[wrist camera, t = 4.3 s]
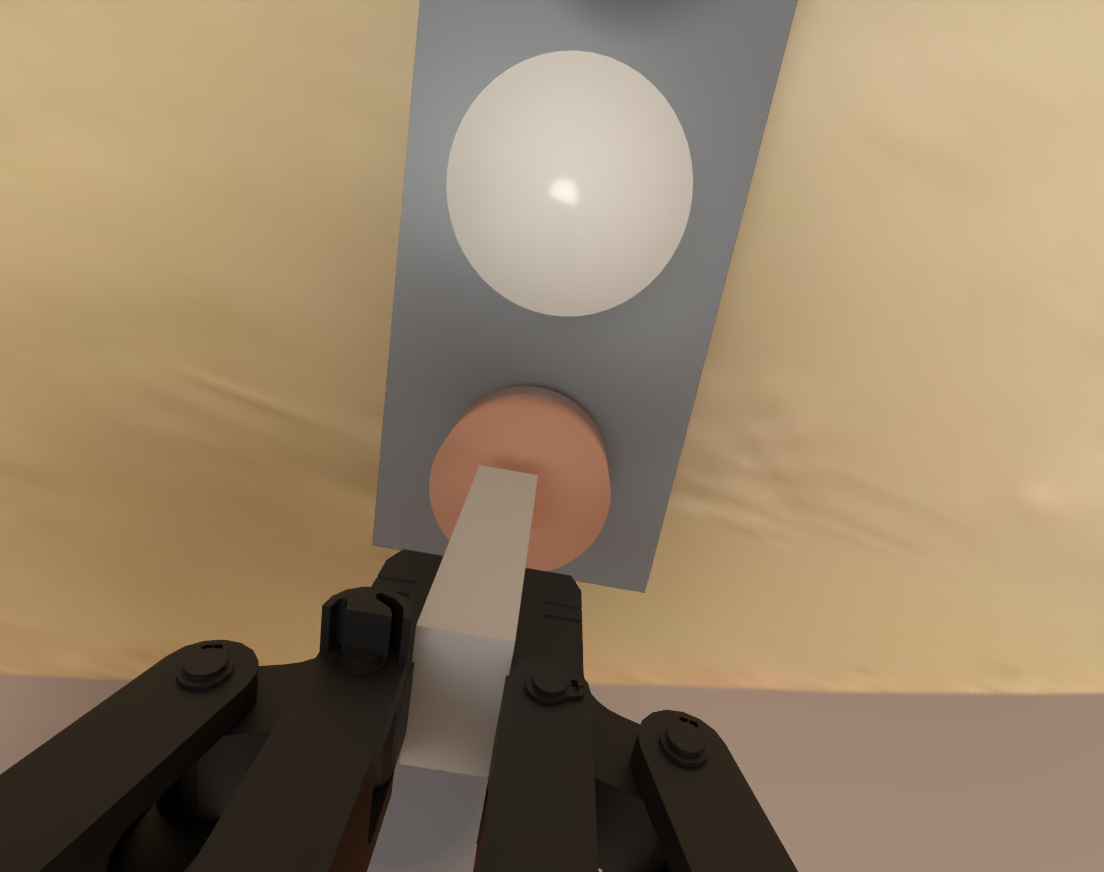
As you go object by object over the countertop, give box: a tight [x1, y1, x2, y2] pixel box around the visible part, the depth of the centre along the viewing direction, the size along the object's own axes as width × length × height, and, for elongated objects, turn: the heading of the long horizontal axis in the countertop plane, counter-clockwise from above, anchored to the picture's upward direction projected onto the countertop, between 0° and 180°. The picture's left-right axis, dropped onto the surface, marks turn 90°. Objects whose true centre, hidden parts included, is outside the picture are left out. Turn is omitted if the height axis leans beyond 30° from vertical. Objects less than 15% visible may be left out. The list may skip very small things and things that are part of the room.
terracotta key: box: [429, 386, 611, 571], centre depth 21 cm, size 5×5×7 cm
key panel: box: [372, 0, 798, 593], centre depth 21 cm, size 10×25×6 cm, turn 170°
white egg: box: [446, 50, 693, 317], centre depth 16 cm, size 5×5×7 cm
